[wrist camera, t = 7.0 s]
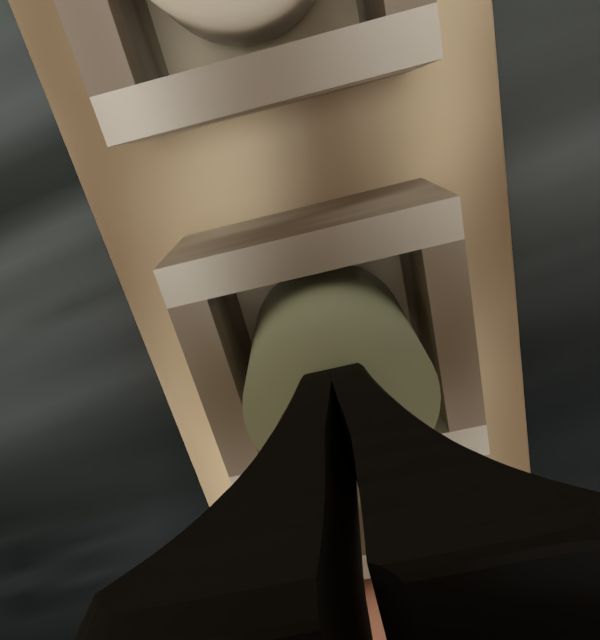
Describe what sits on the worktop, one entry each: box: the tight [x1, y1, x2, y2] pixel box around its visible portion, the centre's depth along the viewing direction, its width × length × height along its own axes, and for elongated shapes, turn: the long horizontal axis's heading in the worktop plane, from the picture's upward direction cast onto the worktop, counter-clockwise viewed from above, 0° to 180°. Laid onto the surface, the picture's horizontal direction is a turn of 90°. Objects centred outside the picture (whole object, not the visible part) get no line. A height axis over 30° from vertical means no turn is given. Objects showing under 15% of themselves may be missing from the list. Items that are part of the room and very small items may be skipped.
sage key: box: [242, 265, 441, 482], centre depth 13 cm, size 4×4×4 cm
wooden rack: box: [8, 0, 530, 579], centre depth 15 cm, size 12×28×4 cm, turn 14°
